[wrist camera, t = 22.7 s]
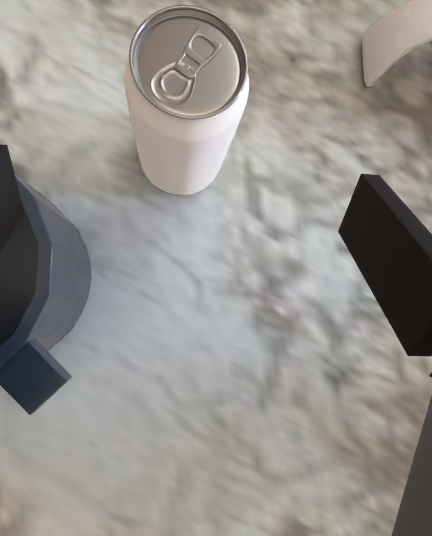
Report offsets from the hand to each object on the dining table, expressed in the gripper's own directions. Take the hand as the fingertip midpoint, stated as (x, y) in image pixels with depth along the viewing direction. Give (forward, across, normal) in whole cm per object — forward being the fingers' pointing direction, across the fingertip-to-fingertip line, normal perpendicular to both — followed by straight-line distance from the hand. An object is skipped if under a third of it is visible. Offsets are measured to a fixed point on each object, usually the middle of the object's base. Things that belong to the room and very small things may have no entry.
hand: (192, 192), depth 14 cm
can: (+15, 0, -5) cm, 16 cm away
